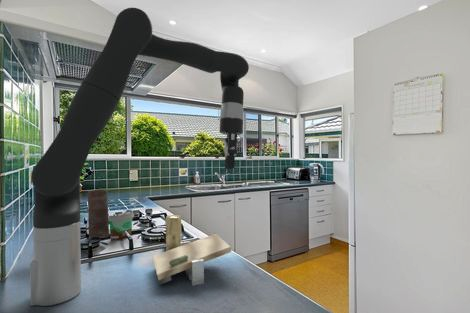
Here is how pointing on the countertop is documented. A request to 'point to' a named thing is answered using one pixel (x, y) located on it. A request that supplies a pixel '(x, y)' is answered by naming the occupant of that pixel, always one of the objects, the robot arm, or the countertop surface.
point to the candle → (98, 213)
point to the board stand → (195, 270)
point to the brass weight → (173, 231)
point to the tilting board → (188, 256)
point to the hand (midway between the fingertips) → (229, 169)
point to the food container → (121, 225)
